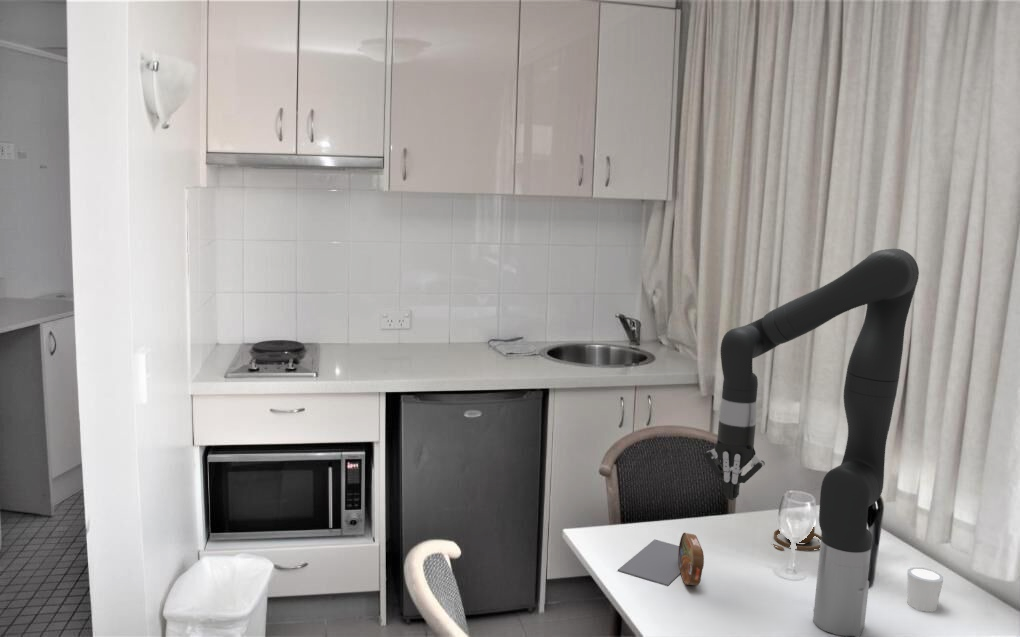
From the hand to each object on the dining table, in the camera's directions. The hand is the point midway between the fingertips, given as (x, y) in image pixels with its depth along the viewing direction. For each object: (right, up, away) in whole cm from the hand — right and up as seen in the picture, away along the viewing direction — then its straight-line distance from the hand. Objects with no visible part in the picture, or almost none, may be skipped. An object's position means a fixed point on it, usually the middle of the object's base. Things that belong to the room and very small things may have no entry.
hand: (730, 498), depth 178 cm
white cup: (+40, -22, -2) cm, 46 cm away
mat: (-12, -18, +14) cm, 26 cm away
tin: (-7, -19, +7) cm, 22 cm away
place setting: (+26, -18, +26) cm, 41 cm away
